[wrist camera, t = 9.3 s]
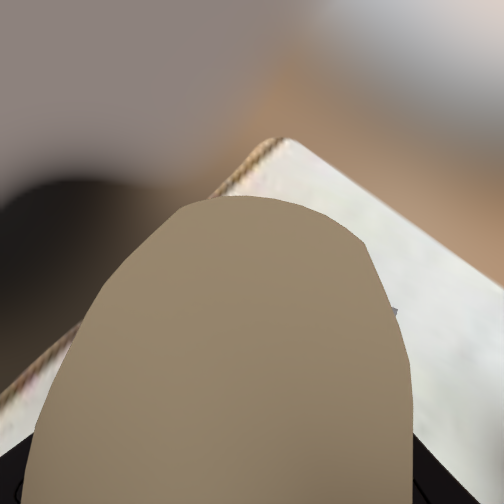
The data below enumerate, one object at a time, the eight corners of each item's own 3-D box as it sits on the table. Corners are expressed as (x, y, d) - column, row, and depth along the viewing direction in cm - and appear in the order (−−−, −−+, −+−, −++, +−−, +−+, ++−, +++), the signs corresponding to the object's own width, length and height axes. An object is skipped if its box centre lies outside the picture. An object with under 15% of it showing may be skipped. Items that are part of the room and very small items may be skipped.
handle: (210, 404, 16) (-90, 673, 3) (236, 309, 19) (153, 177, 5) (282, 427, 16) (409, 959, 2) (300, 325, 18) (414, 223, 4)
